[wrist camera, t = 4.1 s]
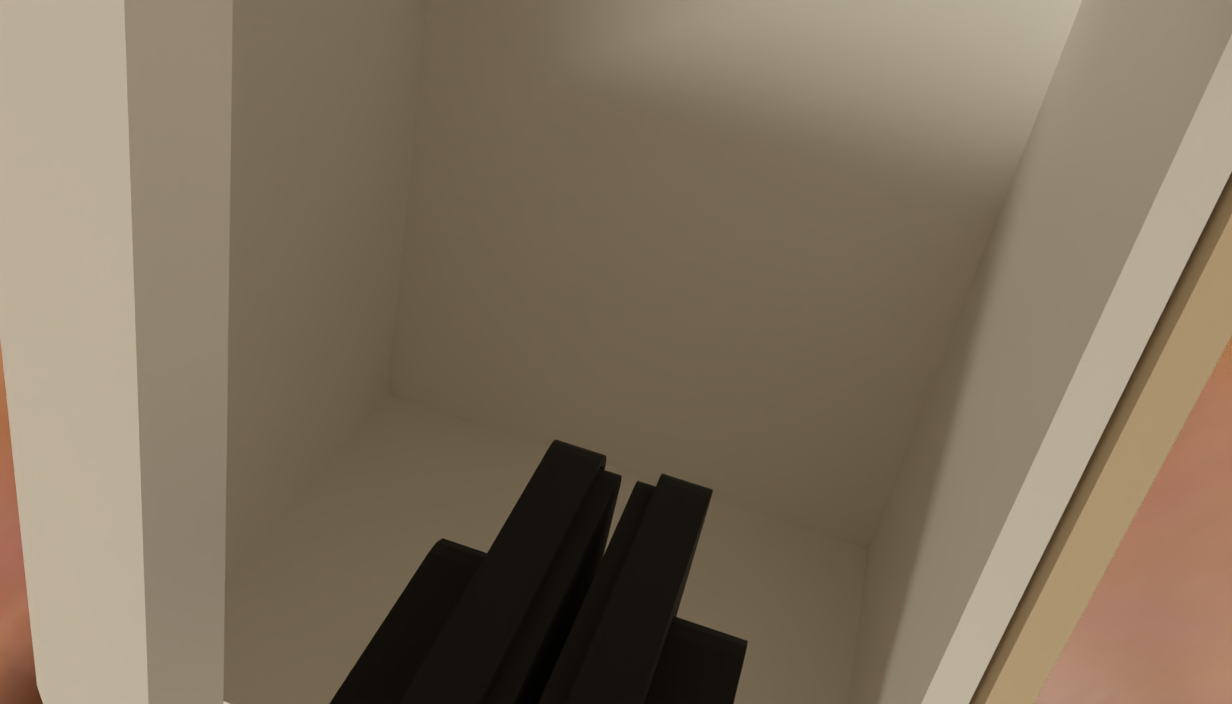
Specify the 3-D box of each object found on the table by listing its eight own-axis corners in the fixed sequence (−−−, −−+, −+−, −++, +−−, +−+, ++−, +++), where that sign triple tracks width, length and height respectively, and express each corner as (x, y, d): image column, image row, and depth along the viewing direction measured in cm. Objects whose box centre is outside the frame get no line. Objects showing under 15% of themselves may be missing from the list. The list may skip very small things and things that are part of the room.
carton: (1331, -406, 18) (1701, -542, 9) (907, 592, 29) (877, 996, 20) (465, -573, 20) (34, -827, 11) (372, 420, 31) (118, 713, 22)
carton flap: (243, -763, 7) (97, -820, 6) (219, 1033, 16) (160, 1061, 16) (-17, -682, 11) (-110, -709, 11) (84, 672, 21) (36, 685, 21)
